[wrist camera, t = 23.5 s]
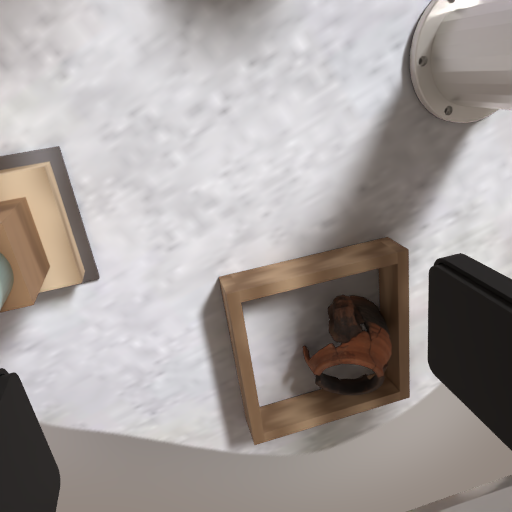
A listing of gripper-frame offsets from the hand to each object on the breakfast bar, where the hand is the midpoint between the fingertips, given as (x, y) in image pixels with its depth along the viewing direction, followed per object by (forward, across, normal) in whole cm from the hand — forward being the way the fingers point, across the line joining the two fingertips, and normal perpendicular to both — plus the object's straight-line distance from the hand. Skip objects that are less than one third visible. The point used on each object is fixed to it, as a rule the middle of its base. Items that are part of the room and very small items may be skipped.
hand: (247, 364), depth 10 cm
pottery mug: (+33, -15, +22) cm, 42 cm away
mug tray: (+32, -12, +22) cm, 41 cm away
